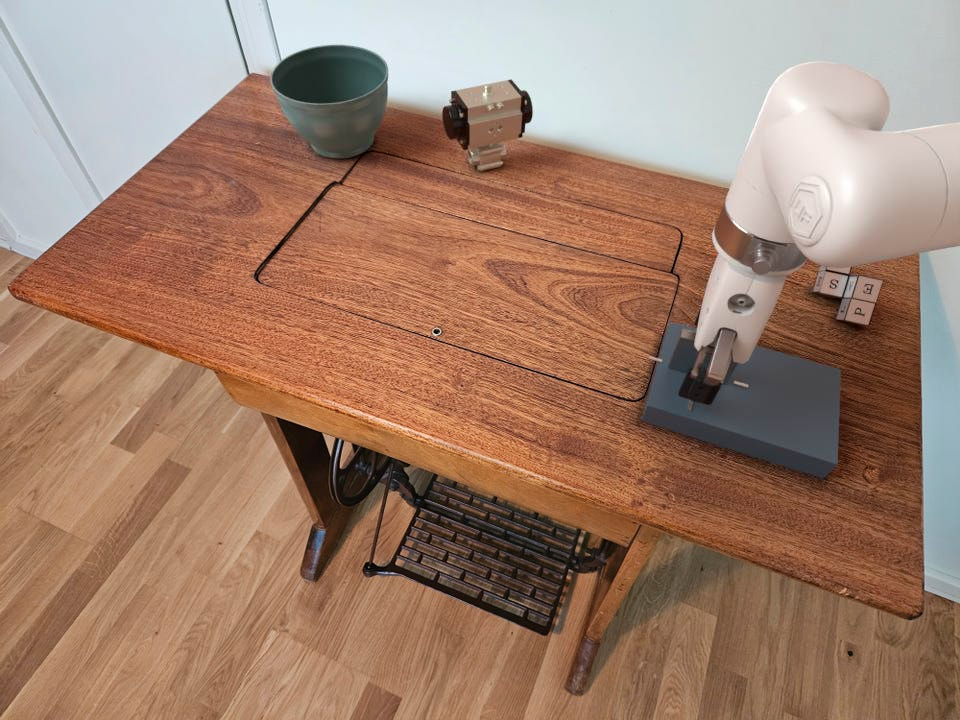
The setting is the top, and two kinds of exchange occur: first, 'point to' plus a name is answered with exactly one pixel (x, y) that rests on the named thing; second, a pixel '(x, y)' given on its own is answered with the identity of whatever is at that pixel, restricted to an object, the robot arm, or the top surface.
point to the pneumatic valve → (487, 120)
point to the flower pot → (333, 97)
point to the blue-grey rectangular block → (756, 408)
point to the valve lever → (692, 355)
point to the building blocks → (849, 293)
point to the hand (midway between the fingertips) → (702, 361)
